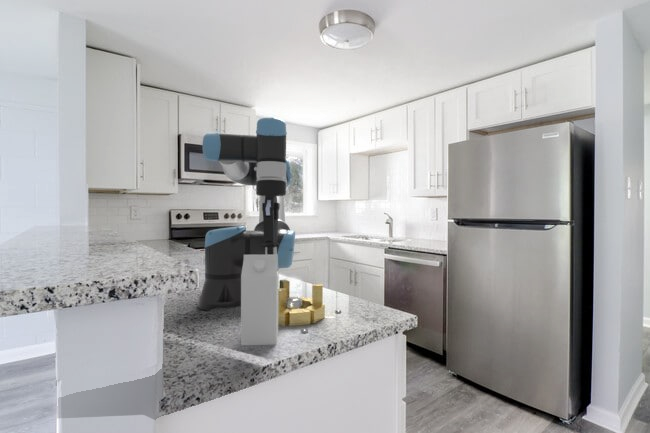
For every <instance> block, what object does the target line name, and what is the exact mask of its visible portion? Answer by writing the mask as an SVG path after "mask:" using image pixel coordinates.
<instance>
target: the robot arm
mask: <svg viewBox="0 0 650 433" xmlns="http://www.w3.org/2000/svg"><path fill="white" fill-rule="evenodd" d="M255 133H256V134H254V135H253V134H232V133H231V134H230V133H229V134H228V133H218V132H217V133H206V134H205V135H203V138H202V154H203V158H204V160H205V161H208V162H215V163H216V162H218V163H219V164H220V165H221V167H222V171H223V174H224V175H225V176H226V177H227V178H228V179H229V180H231V181H233V182H235V183H238V184H241V185H245V186H255V190H256V192H255V194H256V195H257V196H259V210H258V211H259V213H258V214H259V217H258V223H257V224H256V225H255V226H254V229H253V230H247V227H246V226H245V225H240V226H239V225H238V226H237V225H236V226H229V227H222V228H217V229H215V228H214V229H211V230H208V231H207V232H206V234H205V237H204V238H205V241H204V246H203V247H204V282H203V286H202V289H201V292H200V296H199V297H198V308H199V309H200V310H203V311H207V312H210V311H213V310H215V309H224V308H225V309H226V308H228V309H229V308H235V307H241V274H242V267H243V261H244V255H278V270H282V269H289V268H291V266H292V265H293V261H294V252H295V242H296V241H295V239H296V231H294V230H292V229H290V228H291V227H289V225H288V224H287V223H286V217H285V216H286V214H285V212H286V210H285V196H286V194H287V187H289V186H290V185H291V179H292V178H291V175H292V173H291V164H290V161H289V159H288V158H287V123H286V121H285V120H284V119H281V118H279V117H268V116H267V117H262V118H259V119H258V120H257V122H256V130H255Z"/></svg>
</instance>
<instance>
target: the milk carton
mask: <svg viewBox="0 0 650 433" xmlns="http://www.w3.org/2000/svg"><path fill="white" fill-rule="evenodd" d="M279 270H280V269H278V255H244V261H243V267H242V274H241V306H240V346H265V345H266V346H268V345H271V346H272V345H277V342H278V336H279V325H278V289H279Z"/></svg>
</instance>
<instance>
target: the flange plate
mask: <svg viewBox="0 0 650 433" xmlns="http://www.w3.org/2000/svg"><path fill="white" fill-rule="evenodd" d="M290 297H291V298H287V299H286V309H289V310H292V309H302V298H300V297H299V296H290ZM334 312H335V314H341V313H342V310H341V309H335V311H334ZM325 318H326V319H335V316H326V315H325V316H324V318H323V319H325ZM300 333H301V334H308V333H309V329H308V328H302V329H300Z"/></svg>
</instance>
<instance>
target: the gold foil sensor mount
mask: <svg viewBox="0 0 650 433" xmlns="http://www.w3.org/2000/svg"><path fill="white" fill-rule="evenodd" d="M290 286H291V285H290V280H287V279H281V280H280V279H279V280H278V326H279V325H280V326H285V327H286V326H289V327H295V326H305V325H311V324H315V323H317V322H319V321H321V320H323V319H325V318H324V316H325V317H326V315H325V311H326V310H325V307H326V305H325V303H324V302H323V295H324V294H323V288H324V287H323V283H313V284H312V285H311V286H312V288H311V290H312V294H311V296H312V297H306V296H300V297H299V298H302V309H292V310H289V309H286V299H287V298H291V297H292V296H290Z"/></svg>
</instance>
